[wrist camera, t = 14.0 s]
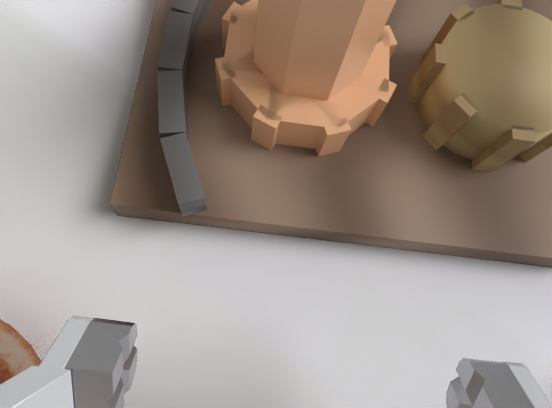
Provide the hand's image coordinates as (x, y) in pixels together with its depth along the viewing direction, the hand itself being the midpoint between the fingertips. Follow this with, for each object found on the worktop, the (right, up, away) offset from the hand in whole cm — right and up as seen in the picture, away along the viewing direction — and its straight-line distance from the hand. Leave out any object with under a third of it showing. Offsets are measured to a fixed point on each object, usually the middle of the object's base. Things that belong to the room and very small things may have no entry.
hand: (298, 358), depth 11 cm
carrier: (+3, +9, +11) cm, 14 cm away
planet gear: (+1, +10, +9) cm, 13 cm away
